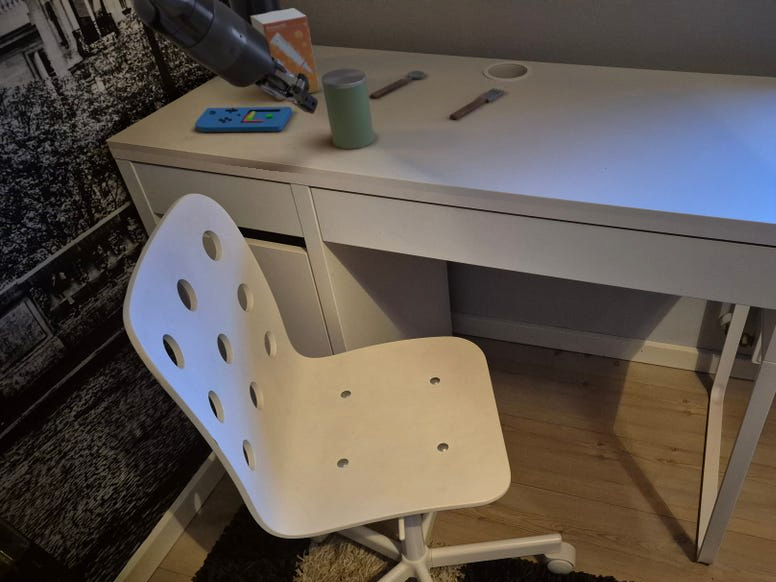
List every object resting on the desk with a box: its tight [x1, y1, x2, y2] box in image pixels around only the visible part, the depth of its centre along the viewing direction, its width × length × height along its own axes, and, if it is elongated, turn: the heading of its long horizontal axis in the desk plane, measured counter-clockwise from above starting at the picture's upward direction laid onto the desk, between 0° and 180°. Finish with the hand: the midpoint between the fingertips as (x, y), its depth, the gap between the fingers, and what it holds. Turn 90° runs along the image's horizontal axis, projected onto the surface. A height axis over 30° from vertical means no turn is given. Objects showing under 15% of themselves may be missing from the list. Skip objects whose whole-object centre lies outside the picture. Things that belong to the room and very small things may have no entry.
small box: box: [250, 7, 320, 101], centre depth 119 cm, size 8×6×13 cm
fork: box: [449, 87, 505, 121], centre depth 116 cm, size 14×2×1 cm, turn 146°
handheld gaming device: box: [194, 106, 293, 133], centre depth 113 cm, size 8×1×15 cm
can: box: [321, 68, 375, 150], centre depth 104 cm, size 7×7×10 cm
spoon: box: [369, 70, 425, 100], centre depth 124 cm, size 14×3×1 cm, turn 146°
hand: (312, 106), depth 98 cm, fingers closed
